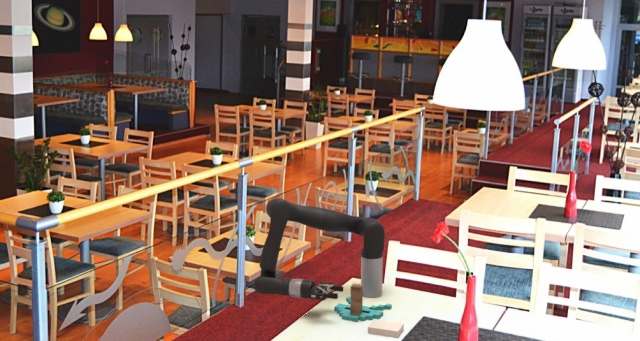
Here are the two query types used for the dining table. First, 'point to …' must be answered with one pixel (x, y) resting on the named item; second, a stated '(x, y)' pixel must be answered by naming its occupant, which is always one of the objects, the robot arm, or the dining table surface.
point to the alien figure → (367, 312)
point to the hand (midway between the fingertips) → (340, 292)
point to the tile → (385, 328)
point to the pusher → (356, 299)
